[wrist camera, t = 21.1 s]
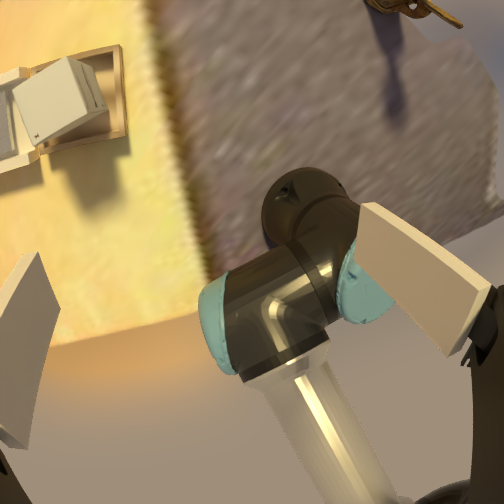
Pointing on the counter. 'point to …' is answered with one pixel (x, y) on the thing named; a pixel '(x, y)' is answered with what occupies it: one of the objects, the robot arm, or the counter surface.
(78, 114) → the supplement box
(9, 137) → the cradle platform
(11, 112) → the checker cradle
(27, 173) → the counter surface
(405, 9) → the wooden mug
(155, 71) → the counter surface
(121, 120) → the wooden trough
